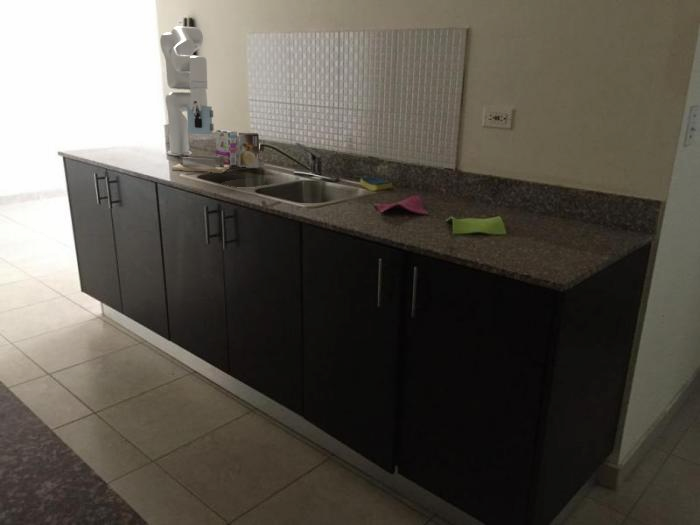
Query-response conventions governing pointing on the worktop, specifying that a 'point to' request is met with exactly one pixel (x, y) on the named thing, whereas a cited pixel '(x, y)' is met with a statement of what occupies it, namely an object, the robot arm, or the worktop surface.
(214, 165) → the clear rectangular tray
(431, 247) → the worktop surface
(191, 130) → the door panel
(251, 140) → the coffee box
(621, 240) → the worktop surface
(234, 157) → the candy bar box
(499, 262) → the worktop surface
